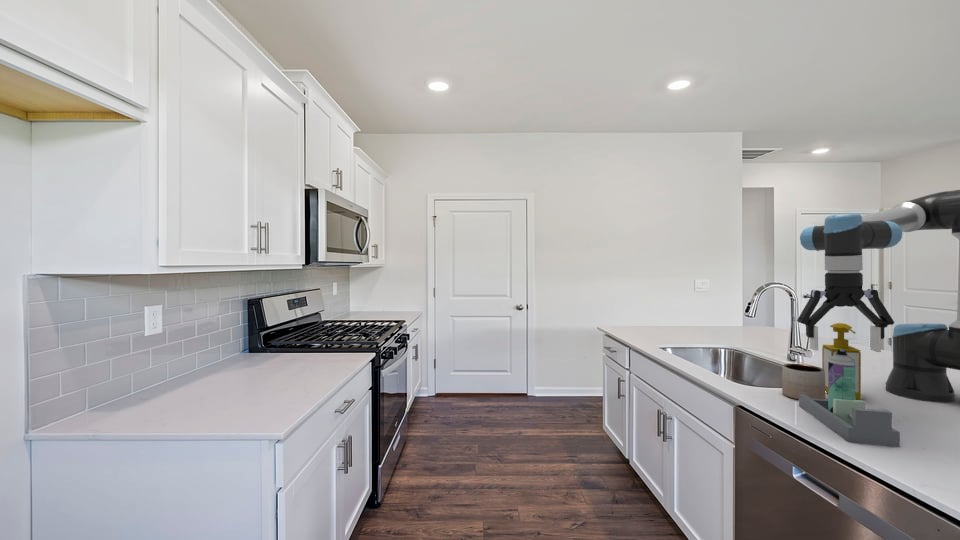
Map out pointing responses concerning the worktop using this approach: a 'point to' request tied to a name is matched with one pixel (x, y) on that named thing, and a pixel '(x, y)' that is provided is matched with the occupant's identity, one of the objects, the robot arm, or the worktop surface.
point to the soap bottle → (851, 351)
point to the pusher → (846, 408)
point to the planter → (803, 381)
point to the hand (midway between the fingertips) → (844, 350)
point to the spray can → (840, 378)
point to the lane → (855, 423)
